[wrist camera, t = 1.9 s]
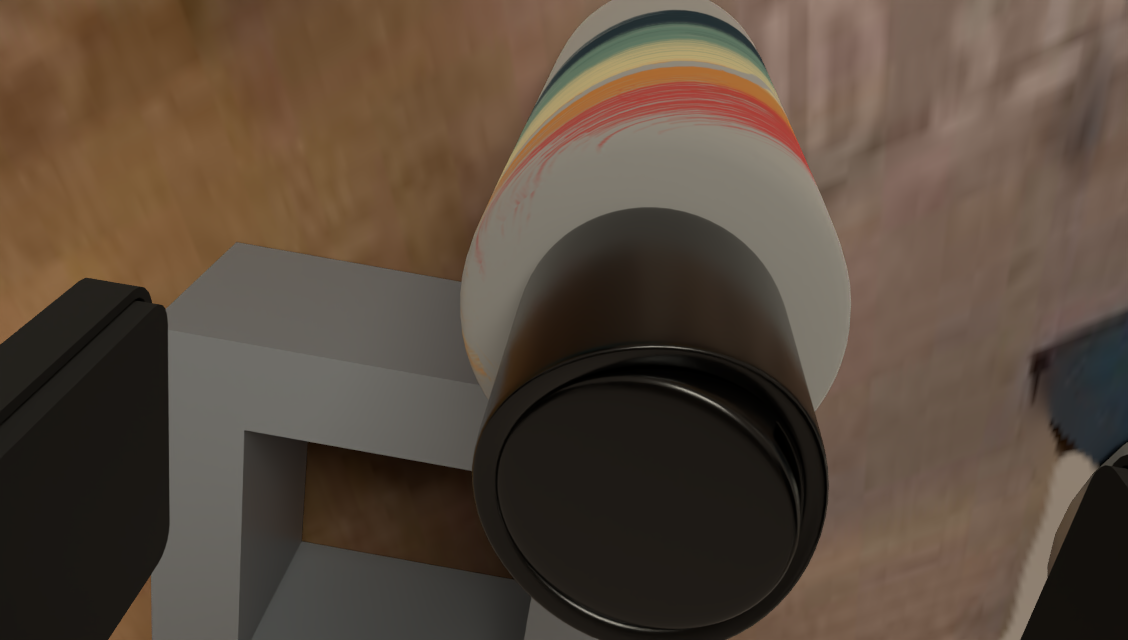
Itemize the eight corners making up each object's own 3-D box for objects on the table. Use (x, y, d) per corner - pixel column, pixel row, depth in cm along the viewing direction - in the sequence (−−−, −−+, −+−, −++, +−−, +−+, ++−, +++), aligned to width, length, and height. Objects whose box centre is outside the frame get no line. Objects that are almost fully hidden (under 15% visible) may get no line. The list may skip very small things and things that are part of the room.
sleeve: (666, 318, 32) (666, 418, 26) (594, 652, 37) (582, 793, 32) (236, 242, 32) (147, 326, 26) (228, 586, 37) (153, 714, 32)
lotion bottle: (782, 167, 29) (973, 700, 11) (584, 214, 30) (467, 772, 12) (739, -42, 27) (890, 199, 9) (528, 17, 28) (283, 338, 10)
